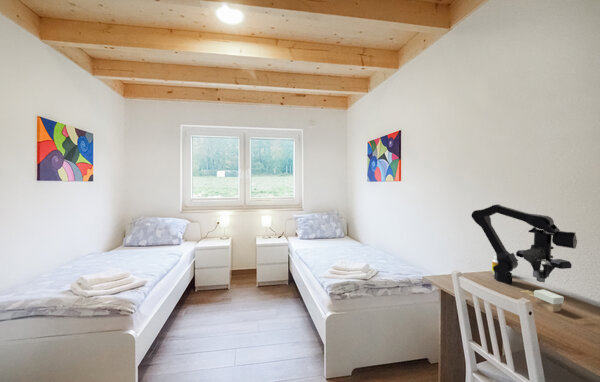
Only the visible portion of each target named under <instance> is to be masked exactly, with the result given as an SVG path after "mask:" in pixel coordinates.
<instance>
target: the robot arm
mask: <svg viewBox="0 0 600 382" xmlns="http://www.w3.org/2000/svg"><path fill="white" fill-rule="evenodd" d="M495 214H500V215H503V216H505V217H509V218H512V219H515V220H519V221H522V222H524V223H526V224H528V225H530V226H531V227H532V228H531V229H529V230H528V233H533V244H531V245H530V248H529V249H522V250H521V249H520V250H519V249H518V250H517V251H515V252H516V254H515V253H514V252H512V253H510V251H508V250H507V249H506V247H505V245H504V243H503V242H502V240H501V239H500V237H499V235H498V234H497V232H496V230H495V228H494V227H493V225H492V218H491V216H493V215H495ZM470 215H471V219H472V220H473V221H474V222H475V223H476V224H477V225H478V226H480V228H481V229H482V231H483V232H484V234H485V236H486V238H487V239H488V242H489V243H490V246H491V247H492V248H493V250H494V252H495V256H497V261H498V265H496V266H494V267H493V270H494V272H495V274H494V275H493V276H494V280H495V281H497V282H498V283H502V284H507V285H512V284H513V275H512V274H513V273H512V271H513V270H514V269H517V268H518V266H519V259H517V258H518V257H519V258H523V259H524V260H525V261H527V262H528V263H529V264H530V266H531V267H532V269H533V270H541V265H542V268H543V269H542V270H543V278H544V279H545V280H546V279H547V278H549V277H550V274H551V273H552V272H553V271H554V270H555V268H556V269H561V270H563V269H564V270H565V269H566V270H567V269H572V263H571V262H570V261H569V260H565V259H562V258H557V259H555V258H554V256H553V255H552V250H554V246H557V247H563V248H570V249H576V248H577V245H578V239H577V235H576V232H575V231H563V230H560V229H559V228H558V226H557V225H556V224H555V221H554V219H553V218H552V217H551V216H548V215H542V214H537V213H535V214H534V213H528V212H525V211H521V210H518V209H514V208H511V207H506V206H504V205H501V204H492V205H491V206H488V207H486V208H482V209H476V210H473V211H472V213H471V214H470ZM552 243H553V244H554V246H552ZM542 262H544V263H542ZM533 270H532V271H533ZM548 276H549V277H548Z"/></svg>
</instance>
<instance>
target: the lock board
mask: <svg viewBox="0 0 600 382" xmlns="http://www.w3.org/2000/svg"><path fill="white" fill-rule="evenodd" d="M519 292H521V293H523V294H525V295H527V296H530V297H534V291H531V290H528V289H527V290H520V291H519ZM534 302H535V303H534V304H535V305H536V306H537V307H540V308H543V309H545V310H548V311H550V312H552V313H555V312H561V311H562V304H563V303H560V304H551V303H549V302H546V301H544V300H542V299H539V298H537V297H535V301H534Z"/></svg>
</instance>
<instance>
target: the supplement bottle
mask: <svg viewBox="0 0 600 382" xmlns="http://www.w3.org/2000/svg"><path fill="white" fill-rule="evenodd" d="M496 265H498V261H497V256H496V255H494V257H493V259H492V261H491V275H493V276H494V274H495V272H494V270H493V267H494V266H496Z"/></svg>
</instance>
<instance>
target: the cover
mask: <svg viewBox="0 0 600 382" xmlns="http://www.w3.org/2000/svg"><path fill="white" fill-rule="evenodd" d="M533 292H534V296H533V297H534V298H536V297H537V298H539V299H542V300H544V301H546V302H549V303H551V304H560V303H562V304H564V302H565V300H564V299H565V297H564V296H562V295H559V294H557V293H554V292H553V291H549V290H547V289H536V290H534V291H533Z"/></svg>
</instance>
